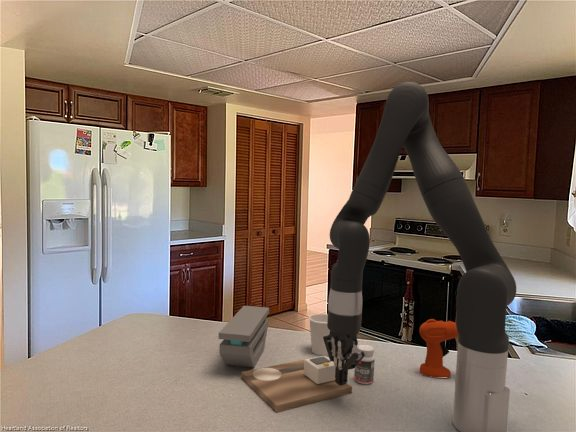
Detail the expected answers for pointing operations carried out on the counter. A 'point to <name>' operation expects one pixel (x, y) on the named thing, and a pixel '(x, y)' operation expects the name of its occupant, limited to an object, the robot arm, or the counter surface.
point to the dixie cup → (318, 333)
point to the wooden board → (290, 386)
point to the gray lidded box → (244, 337)
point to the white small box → (319, 369)
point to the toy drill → (436, 346)
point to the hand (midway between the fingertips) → (340, 383)
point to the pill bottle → (365, 366)
